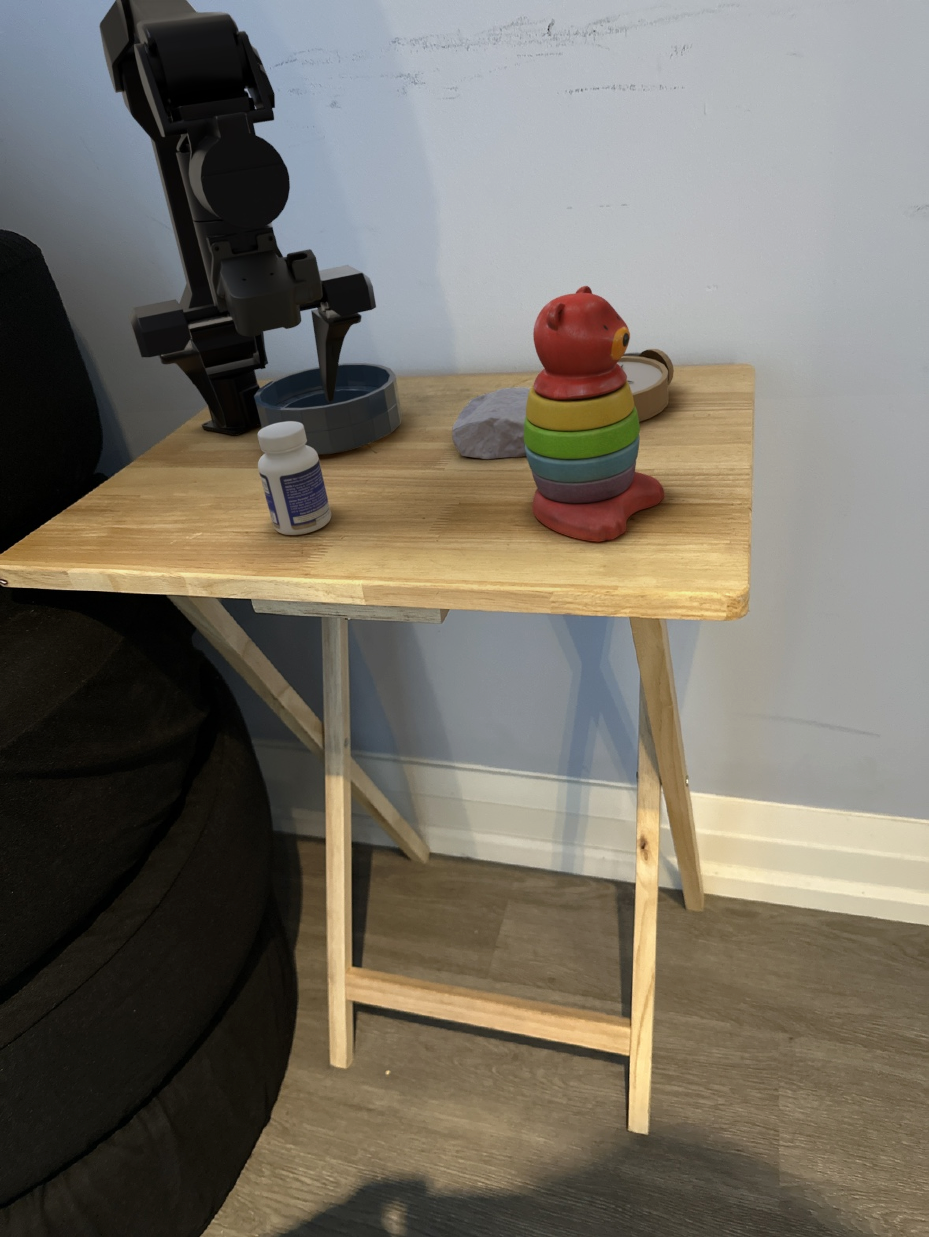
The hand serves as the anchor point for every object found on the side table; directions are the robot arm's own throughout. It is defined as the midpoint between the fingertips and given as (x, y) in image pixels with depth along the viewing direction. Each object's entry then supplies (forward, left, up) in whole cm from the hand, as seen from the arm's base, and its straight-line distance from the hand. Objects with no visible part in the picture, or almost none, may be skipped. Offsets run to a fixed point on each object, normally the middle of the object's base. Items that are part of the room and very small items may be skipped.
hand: (277, 413), depth 78 cm
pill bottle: (0, 0, -10) cm, 11 cm away
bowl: (-14, +18, -10) cm, 25 cm away
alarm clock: (+11, +37, -10) cm, 40 cm away
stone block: (+5, +24, -10) cm, 27 cm away
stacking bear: (+22, +13, -10) cm, 28 cm away
